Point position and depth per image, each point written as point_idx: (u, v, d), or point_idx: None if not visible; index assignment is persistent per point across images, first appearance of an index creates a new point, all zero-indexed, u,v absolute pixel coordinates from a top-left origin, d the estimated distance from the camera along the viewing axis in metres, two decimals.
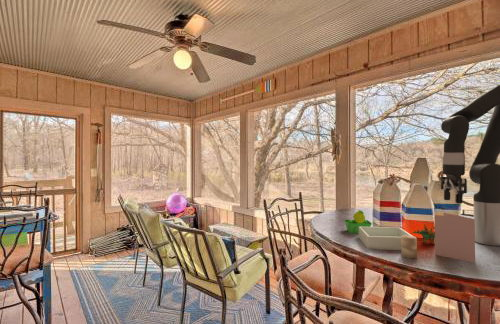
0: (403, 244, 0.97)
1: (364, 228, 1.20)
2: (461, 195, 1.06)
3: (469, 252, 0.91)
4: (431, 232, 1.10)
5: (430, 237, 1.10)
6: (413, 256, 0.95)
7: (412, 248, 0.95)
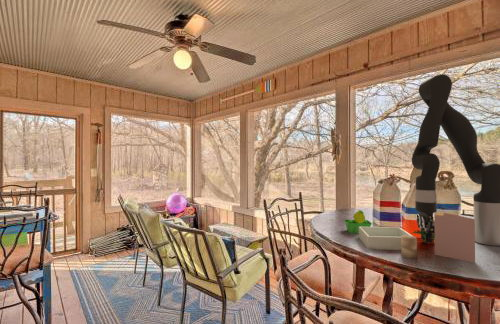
0: (403, 244, 0.97)
1: (364, 228, 1.20)
2: (430, 235, 1.08)
3: (469, 252, 0.91)
4: None
5: None
6: (413, 256, 0.95)
7: (412, 248, 0.95)
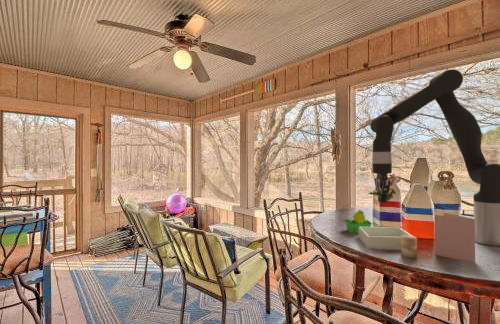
0: (403, 244, 0.97)
1: (364, 228, 1.20)
2: (385, 195, 1.11)
3: (469, 252, 0.91)
4: None
5: None
6: (413, 256, 0.95)
7: (412, 248, 0.95)
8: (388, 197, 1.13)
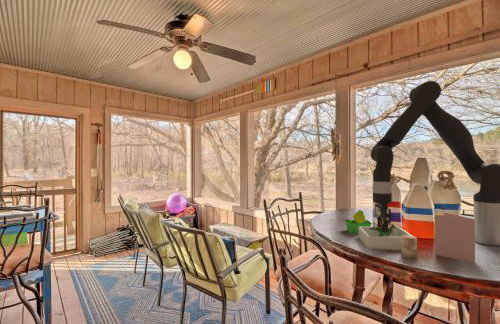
0: (403, 244, 0.97)
1: (364, 228, 1.20)
2: (386, 224, 1.10)
3: (469, 252, 0.91)
4: None
5: (385, 233, 1.13)
6: (413, 256, 0.95)
7: (412, 248, 0.95)
8: (388, 232, 1.13)
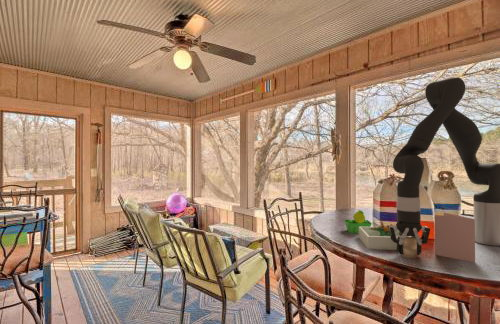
0: (403, 244, 0.97)
1: (364, 228, 1.20)
2: (397, 245, 0.98)
3: (469, 252, 0.91)
4: (387, 229, 1.13)
5: (386, 234, 1.13)
6: (413, 256, 0.95)
7: (412, 248, 0.95)
8: (389, 233, 1.13)
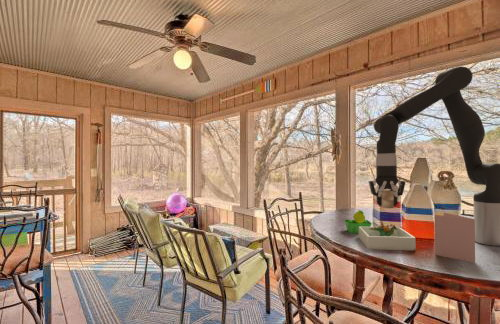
0: (381, 196, 1.08)
1: (364, 228, 1.20)
2: (377, 197, 1.09)
3: (469, 252, 0.91)
4: (387, 229, 1.13)
5: (386, 234, 1.13)
6: (390, 206, 1.06)
7: (389, 199, 1.06)
8: (389, 233, 1.13)
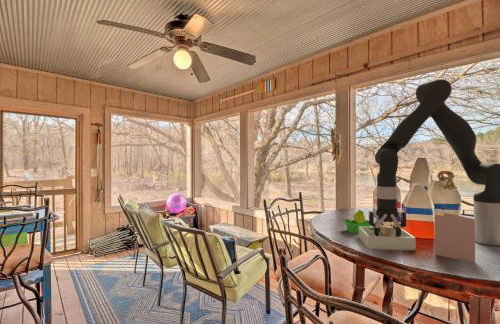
0: (382, 233, 1.08)
1: (364, 228, 1.20)
2: (374, 228, 1.09)
3: (469, 252, 0.91)
4: None
5: None
6: None
7: (389, 236, 1.06)
8: None
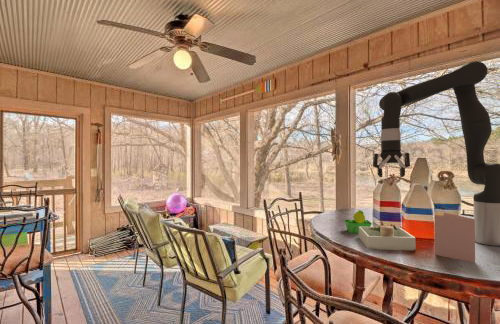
0: (382, 233, 1.08)
1: (364, 228, 1.20)
2: (378, 169, 1.14)
3: (469, 252, 0.91)
4: None
5: None
6: None
7: (389, 236, 1.06)
8: None
